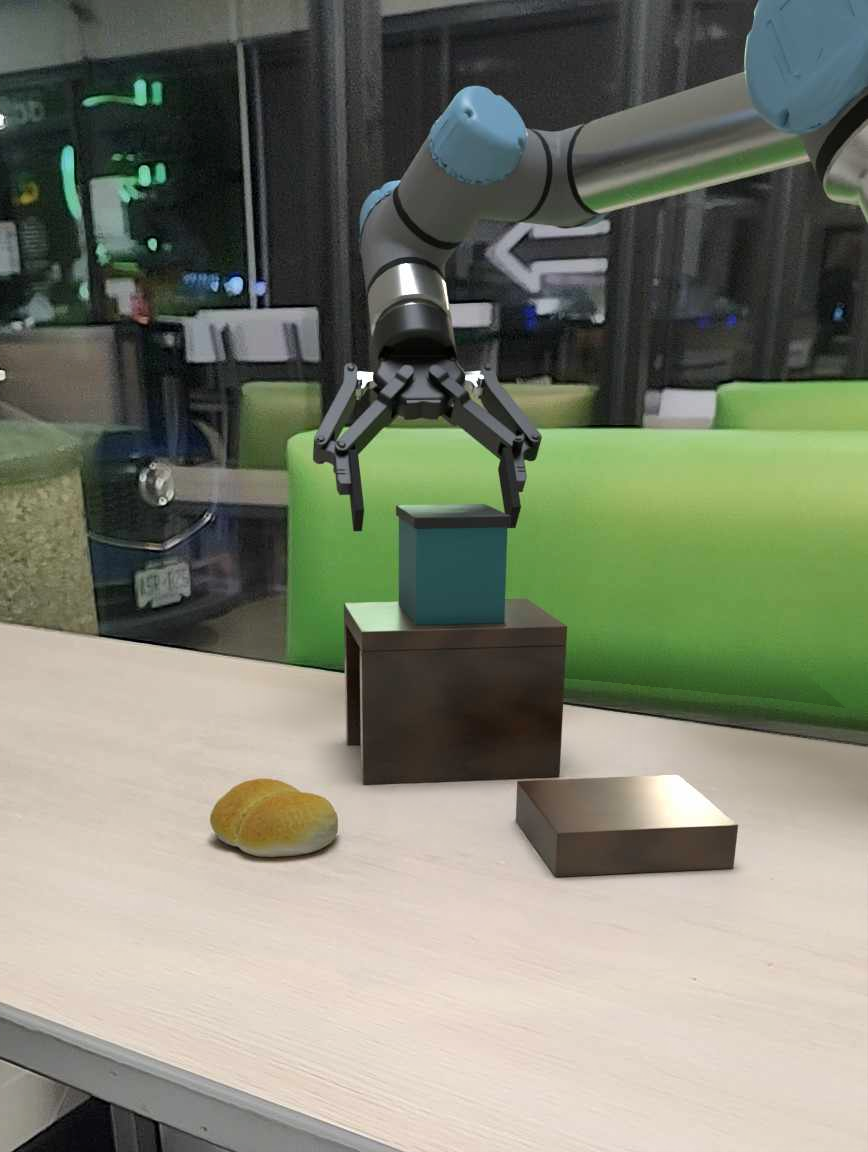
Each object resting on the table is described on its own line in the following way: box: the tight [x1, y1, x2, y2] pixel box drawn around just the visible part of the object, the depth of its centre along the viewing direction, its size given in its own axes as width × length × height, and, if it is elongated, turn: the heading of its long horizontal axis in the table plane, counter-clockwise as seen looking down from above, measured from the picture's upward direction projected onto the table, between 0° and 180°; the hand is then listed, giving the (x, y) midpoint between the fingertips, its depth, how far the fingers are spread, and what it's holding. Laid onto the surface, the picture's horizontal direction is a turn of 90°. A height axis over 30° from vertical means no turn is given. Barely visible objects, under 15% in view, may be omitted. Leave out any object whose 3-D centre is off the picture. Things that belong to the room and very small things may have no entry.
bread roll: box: [209, 778, 339, 858], centre depth 92 cm, size 8×9×4 cm
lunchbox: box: [395, 503, 511, 625], centre depth 106 cm, size 7×10×8 cm
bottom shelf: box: [515, 774, 739, 878], centre depth 91 cm, size 12×12×3 cm
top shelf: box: [343, 598, 568, 785], centre depth 110 cm, size 16×14×12 cm
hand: (436, 519), depth 115 cm, fingers open, 13 cm apart
